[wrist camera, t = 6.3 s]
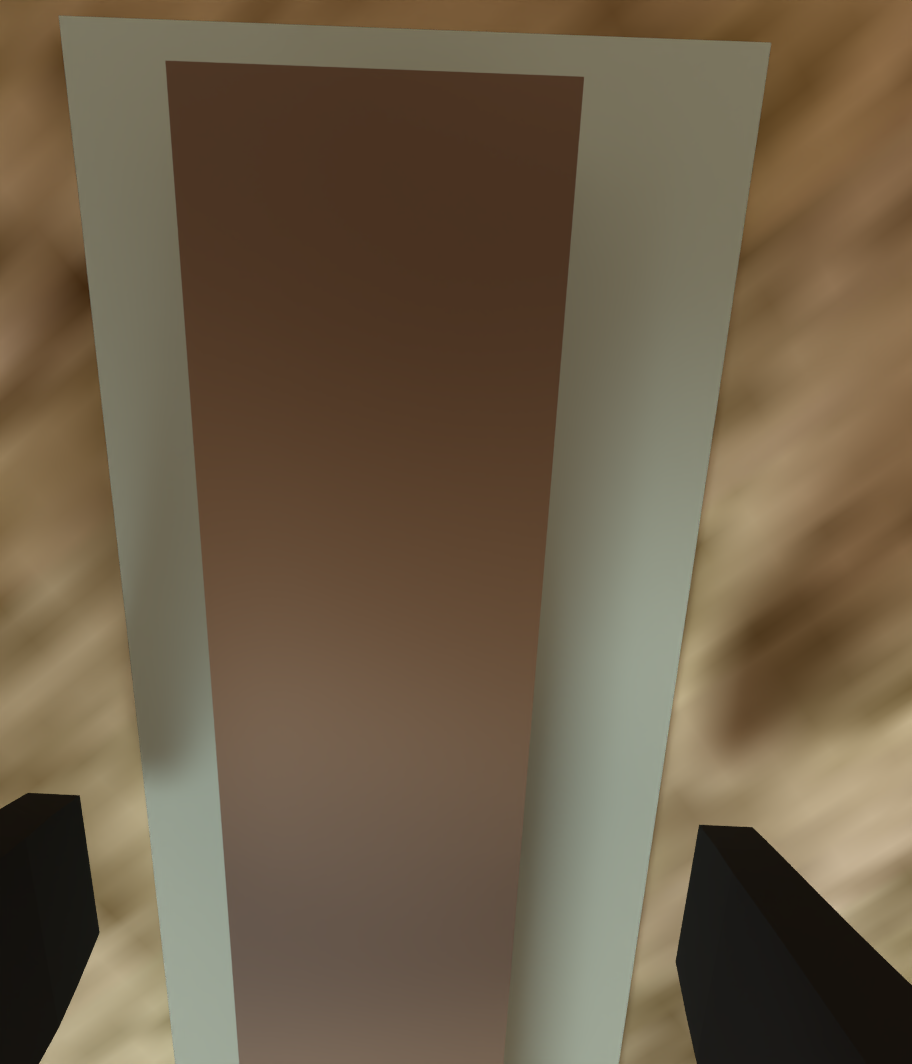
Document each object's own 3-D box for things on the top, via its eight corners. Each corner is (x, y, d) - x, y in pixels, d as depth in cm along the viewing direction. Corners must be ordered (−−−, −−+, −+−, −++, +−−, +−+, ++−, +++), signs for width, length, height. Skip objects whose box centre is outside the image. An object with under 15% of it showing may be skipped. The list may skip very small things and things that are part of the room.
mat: (589, 1210, 13) (592, 1237, 13) (200, 1190, 13) (192, 1216, 13) (755, 54, 8) (770, 42, 7) (79, 28, 8) (58, 16, 7)
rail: (473, 1193, 13) (473, 1435, 10) (309, 1185, 13) (265, 1422, 10) (546, 148, 8) (583, 76, 5) (272, 139, 8) (165, 60, 5)
